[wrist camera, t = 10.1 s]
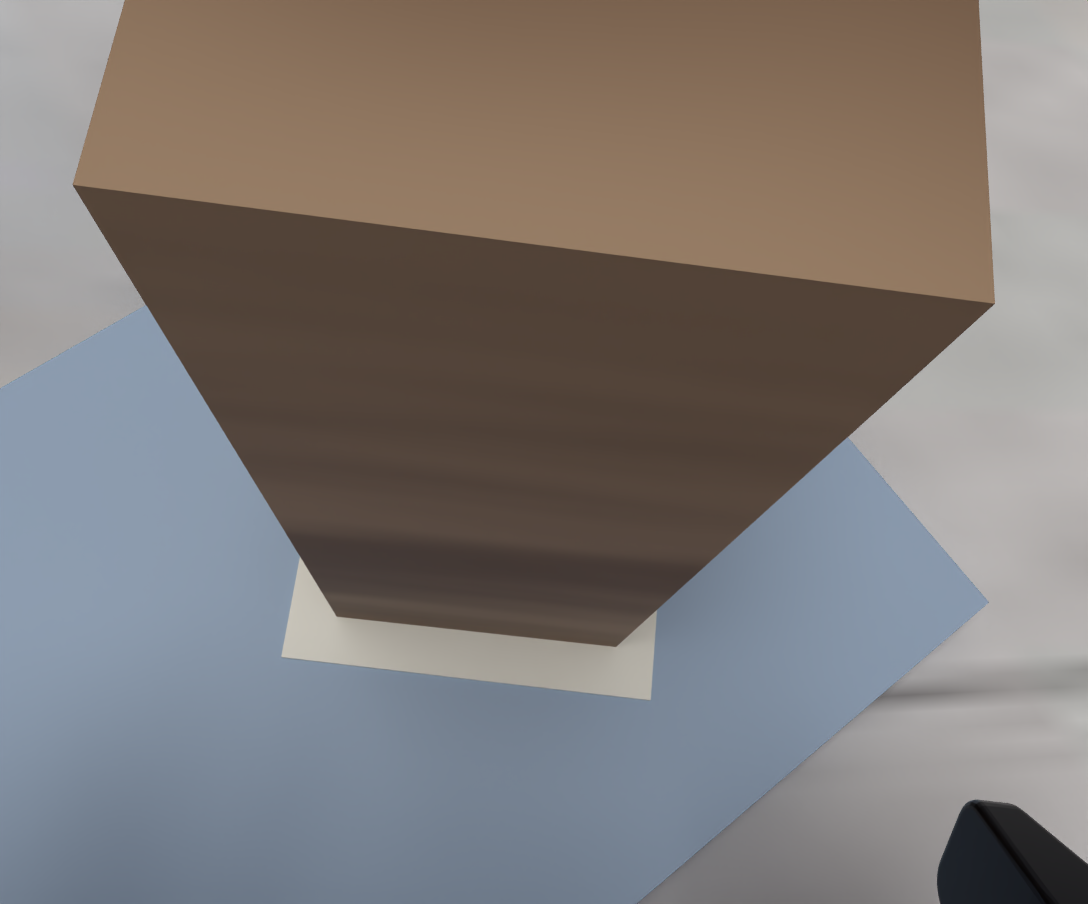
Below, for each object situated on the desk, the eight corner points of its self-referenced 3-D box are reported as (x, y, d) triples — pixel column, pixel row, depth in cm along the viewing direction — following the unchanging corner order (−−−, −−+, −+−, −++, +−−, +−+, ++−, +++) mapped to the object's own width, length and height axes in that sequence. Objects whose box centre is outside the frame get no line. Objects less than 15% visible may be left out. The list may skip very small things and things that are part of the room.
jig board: (959, 611, 19) (1073, 570, 16) (191, 1264, 15) (114, 1404, 11) (539, 115, 22) (556, -16, 18) (-212, 551, 18) (-374, 490, 14)
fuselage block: (616, 647, 17) (995, 304, 5) (336, 616, 17) (74, 185, 5) (634, 390, 19) (961, -328, 7) (378, 358, 18) (251, -443, 6)
